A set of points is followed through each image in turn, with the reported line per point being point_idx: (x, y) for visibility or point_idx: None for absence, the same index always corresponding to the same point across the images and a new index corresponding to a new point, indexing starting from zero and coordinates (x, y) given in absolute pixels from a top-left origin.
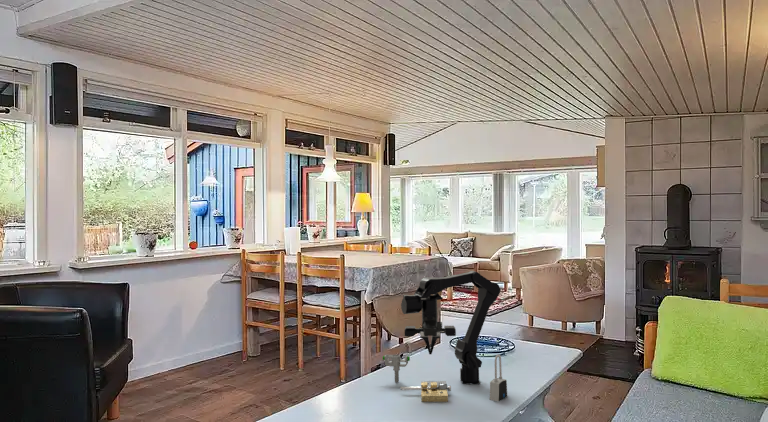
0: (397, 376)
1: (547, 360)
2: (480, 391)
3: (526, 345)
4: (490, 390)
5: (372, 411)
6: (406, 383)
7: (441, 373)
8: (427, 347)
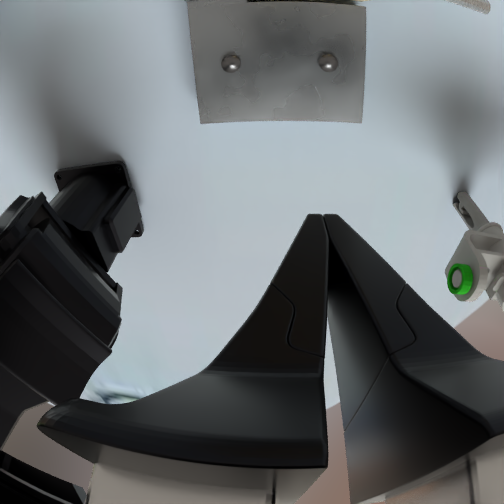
0: (472, 209)
1: None
2: (36, 65)
3: None
4: None
5: None
6: (425, 174)
7: (243, 301)
8: (386, 267)
